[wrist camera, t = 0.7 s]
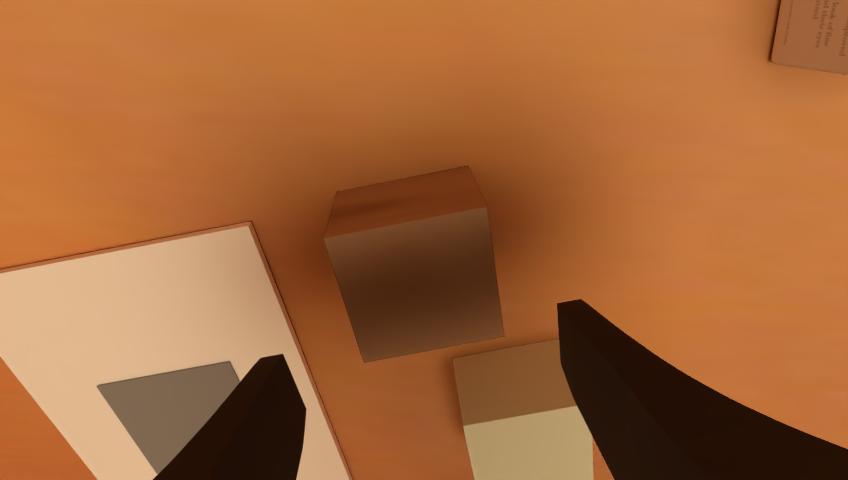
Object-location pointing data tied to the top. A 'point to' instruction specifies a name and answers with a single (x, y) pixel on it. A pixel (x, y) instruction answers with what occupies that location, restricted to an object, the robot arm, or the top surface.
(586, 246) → the top surface
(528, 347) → the sage block
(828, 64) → the small box
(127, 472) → the board
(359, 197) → the walnut block
